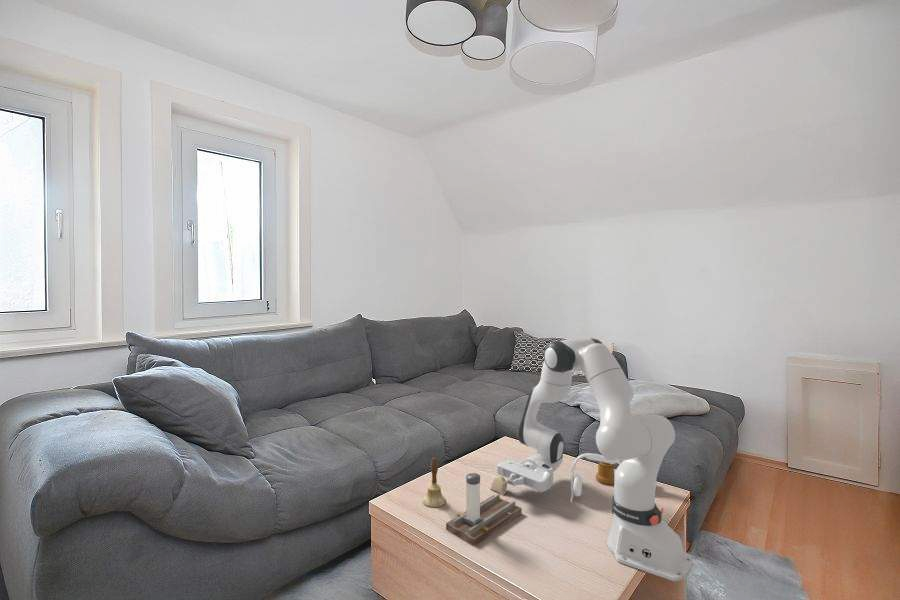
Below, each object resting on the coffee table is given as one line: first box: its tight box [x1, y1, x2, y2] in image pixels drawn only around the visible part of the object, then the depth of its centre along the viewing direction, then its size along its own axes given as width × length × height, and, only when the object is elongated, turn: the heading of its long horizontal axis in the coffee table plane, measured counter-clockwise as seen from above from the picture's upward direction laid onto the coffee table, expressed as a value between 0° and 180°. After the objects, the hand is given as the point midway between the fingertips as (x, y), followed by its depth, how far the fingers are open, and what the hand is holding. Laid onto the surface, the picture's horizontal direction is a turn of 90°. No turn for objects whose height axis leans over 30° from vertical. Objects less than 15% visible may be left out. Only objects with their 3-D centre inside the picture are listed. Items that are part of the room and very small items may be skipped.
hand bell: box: [421, 457, 447, 508], centre depth 154 cm, size 8×8×16 cm
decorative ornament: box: [489, 475, 509, 496], centre depth 162 cm, size 4×8×5 cm, turn 41°
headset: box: [570, 452, 622, 504], centre depth 152 cm, size 20×7×18 cm, turn 64°
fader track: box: [445, 493, 523, 547], centre depth 142 cm, size 12×24×4 cm, turn 136°
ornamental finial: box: [595, 461, 615, 486], centre depth 169 cm, size 8×8×8 cm
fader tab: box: [463, 472, 483, 526], centre depth 138 cm, size 5×4×15 cm
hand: (510, 482), depth 152 cm, fingers closed
